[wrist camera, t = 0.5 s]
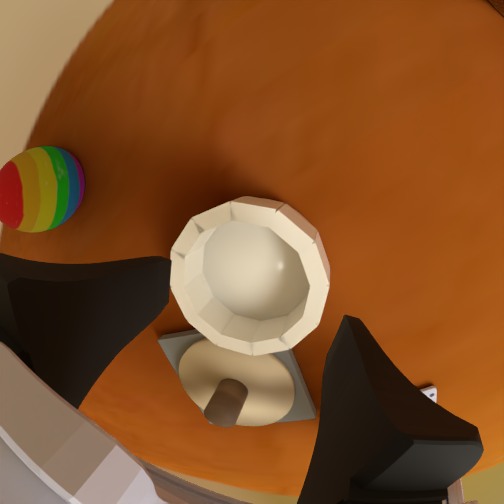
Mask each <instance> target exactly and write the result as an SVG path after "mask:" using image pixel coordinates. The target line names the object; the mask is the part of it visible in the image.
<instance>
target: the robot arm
mask: <svg viewBox="0 0 504 504" xmlns="http://www.w3.org/2000/svg"><path fill="white" fill-rule="evenodd" d="M171 266H172V260H169V259H166V258H164V257H161V256H150V257H141V258H134V259H127V260H119V261H111V262H102V263H92V264H57V263H45V262H37V261H31V260H26V259H21V258H17V257H13V256H9V255H6V254H3V253H0V504H250V503H247V502H244V501H240V500H237V499H234V498H230V497H228V496H224V495H222V494H218V493H216V492H213V491H210V490H207V489H205V488H202V487H200V486H197V485H195V484H192V483H190V482H188V481H185V480H183V479H180V478H179V477H176V476H174V475H172V474H170V473H168V472H166V471H163V470H161V469H159V468H157V467H155V466H154V465H152V464H150V463H148V462H146V461H144V460H142V459H140V458H139V457H137V456H135V455H133V454H132V453H131V452H130V451H128V450H127V449H126V448H125V447H124V446H123V445H122V444H121V443H120V442H119V441H118V440H117V439H115V438H114V437H113V436H111V435H110V434H109V433H107V432H106V431H105V430H103V429H102V428H101V427H100V426H98V425H97V424H96V423H95V422H93V421H92V420H91V419H89V418H88V417H87V416H85V415H84V414H83V413H81V412H80V411H79V410H78V408H79V406H80V404H81V403H82V401H83V399H84V398H85V396H86V395H87V393H88V392H89V390H90V389H91V387H92V386H93V384H94V383H95V382H96V380H97V379H98V378H99V376H100V375H101V374H102V372H103V371H104V370H105V368H106V367H107V366H108V365H109V364H110V362H111V361H112V360H113V359H114V358H115V356H116V355H117V354H118V353H119V352H120V351H121V350H122V349H123V348H124V347H125V346H126V345H127V344H128V343H129V342H130V341H132V340H133V339H134V338H135V337H136V336H137V335H138V334H139V333H140V332H141V331H143V330H144V329H145V328H146V327H147V326H148V325H149V324H150V323H151V322H152V321H153V320H154V319H155V318H156V317H157V316H158V315H159V314H160V313H161V311H162V310H163V309H164V307H165V306H166V305H167V304H168V302H169V289H170V277H171ZM436 396H437V389H436V387H435V386H430V387H427V388H424V389H421V390H419V389H418V388H417V387H416V386H414V385H413V384H412V383H411V382H410V381H409V380H408V379H407V378H406V377H405V376H404V375H403V374H402V373H401V372H400V371H399V369H398V368H397V367H396V366H395V365H394V364H393V363H392V361H391V360H390V359H389V358H388V356H387V355H386V354H385V353H384V351H383V350H382V349H381V347H380V346H379V345H378V343H377V342H376V340H375V339H374V338H373V336H372V335H371V333H370V332H369V330H368V329H367V328H366V326H365V325H364V324H363V322H362V321H361V320H360V319H359V318H355V317H352V316H348V315H344V317H343V320H342V322H341V325H340V327H339V329H338V332H337V334H336V336H335V338H334V341H333V343H332V345H331V347H330V350H329V352H328V354H327V357H326V362H325V367H324V373H323V381H322V396H321V410H320V422H319V429H318V434H317V439H316V443H315V447H314V451H313V455H312V459H311V462H310V466H309V469H308V473H307V476H306V479H305V482H304V485H303V488H302V491H301V494H300V496H299V499H298V502H297V504H478V501H470V502H465V501H464V495H463V488H462V482H461V477H462V476H463V475H465V474H466V473H467V472H468V471H469V470H470V469H472V468H473V467H474V466H475V465H476V463H477V462H478V461H479V459H480V458H481V456H482V453H483V450H484V449H483V445H482V441H481V438H480V434H479V431H478V428H477V427H476V426H474V425H472V424H470V423H469V422H467V421H465V420H463V419H461V418H459V417H457V416H455V415H453V414H452V413H450V412H449V411H447V410H446V409H444V408H443V407H441V406H440V405H438V404H437V403H436Z"/></svg>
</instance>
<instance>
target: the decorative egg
mask: <svg viewBox="0 0 504 504" xmlns="http://www.w3.org/2000/svg"><path fill="white" fill-rule="evenodd" d="M84 190H85V177H84V172H83V169H82V167H81V165H80V163H79V161H78V160H77V159H76V158H75V157H74V156H73V155H72V154H71V153H69V152H68V151H66V150H64V149H61V148H58V147H54V146H40V147H35V148H31V149H29V150H26V151H24V152H22V153H20V154H18V155H16V156H15V157H14V158H12V159H11V160H10V161H9V162H7V163H6V164H5V165H4V166H3V168H2V169H1V170H0V221H1V222H2V223H4V224H5V225H7V226H9V227H11V228H13V229H15V230H19V231H23V232H41V231H46V230H50V229H53V228H55V227H57V226H59V225H61V224H62V223H64V222H65V221H66V220H68V219H69V218H70V217H71V216H72V215H73V214H74V213H75V211H76V210H77V208H78V207H79V205H80V203H81V201H82V198H83V195H84Z"/></svg>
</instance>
